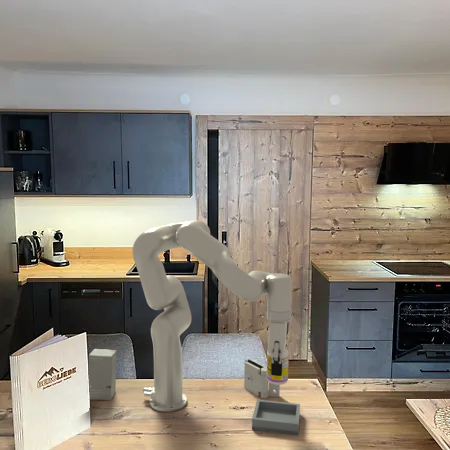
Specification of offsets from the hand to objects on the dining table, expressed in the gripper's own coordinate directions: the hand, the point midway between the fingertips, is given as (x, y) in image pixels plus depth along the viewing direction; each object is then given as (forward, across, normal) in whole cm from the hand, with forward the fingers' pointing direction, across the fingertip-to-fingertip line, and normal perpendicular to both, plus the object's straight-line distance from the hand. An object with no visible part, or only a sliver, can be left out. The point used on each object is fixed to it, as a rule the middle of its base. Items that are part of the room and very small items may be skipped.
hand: (277, 369), depth 141 cm
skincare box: (+18, -4, -61) cm, 64 cm away
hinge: (+18, -18, -7) cm, 26 cm away
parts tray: (+17, 0, 0) cm, 17 cm away
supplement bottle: (+4, 0, 0) cm, 4 cm away
